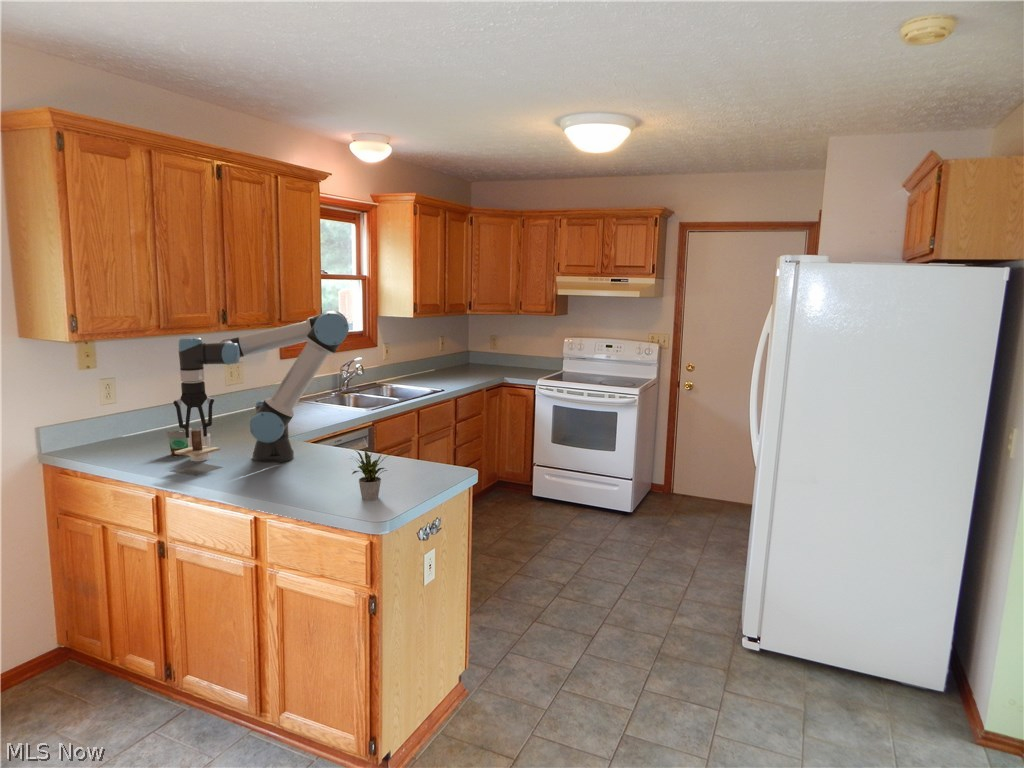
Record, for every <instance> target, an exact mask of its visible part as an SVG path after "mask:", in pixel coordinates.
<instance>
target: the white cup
mask: <svg viewBox="0 0 1024 768" xmlns="http://www.w3.org/2000/svg"><path fill="white" fill-rule="evenodd" d="M204 446H211V433H210V432H209V433H208V432H207V436H206V437H204ZM189 447H190V441H189V438H188V448H189ZM210 454H211V453H208V454H204V455H201V456H198V457H194V456H189V461H191V462H204V461H207V460H210Z"/></svg>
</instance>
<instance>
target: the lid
mask: <svg viewBox="0 0 1024 768" xmlns="http://www.w3.org/2000/svg"><path fill="white" fill-rule="evenodd" d="M191 433H192V447H189V448H185V449H182V450H178V451H174V452H175V454H180V455H183V456H189V457H190V456H194V457H198V456H201V455H204V454H208V453H209V454H211V453H215V452H217V451H221V447H216V446H211V445H210V446H202V442H201V429H199V430H198V429H192V431H191Z"/></svg>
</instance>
